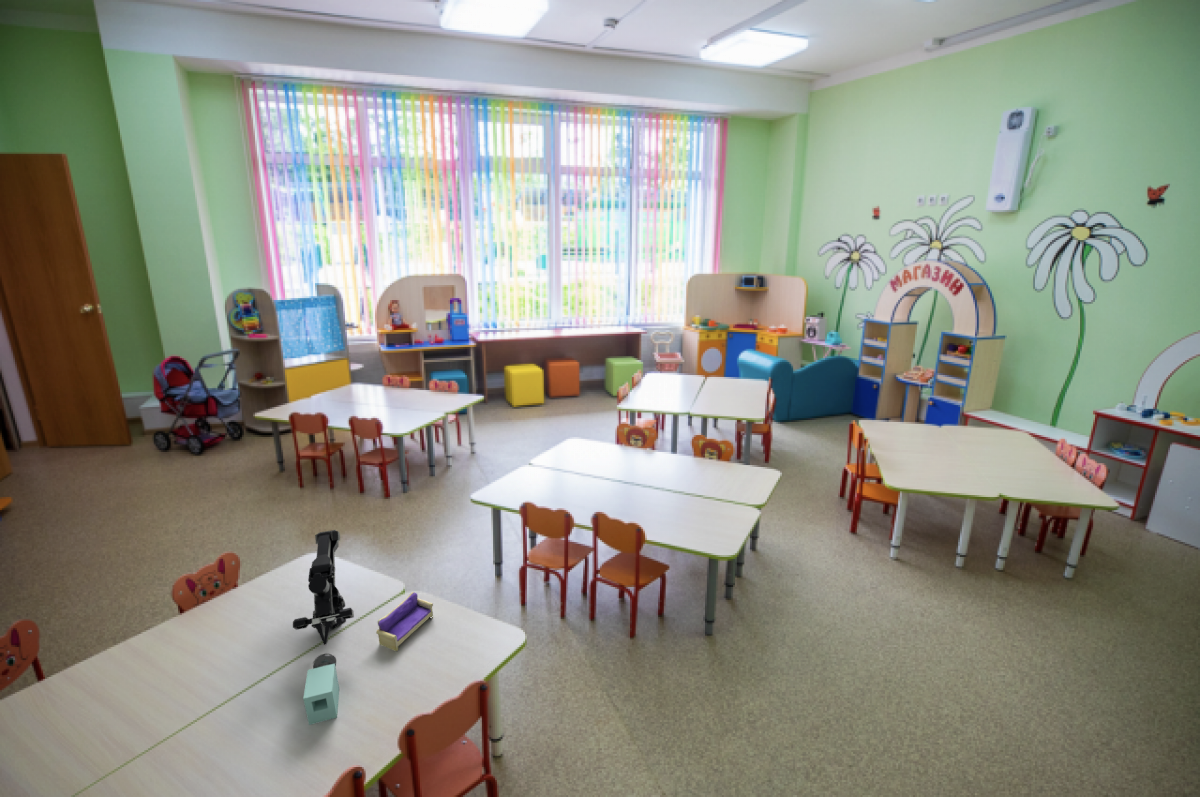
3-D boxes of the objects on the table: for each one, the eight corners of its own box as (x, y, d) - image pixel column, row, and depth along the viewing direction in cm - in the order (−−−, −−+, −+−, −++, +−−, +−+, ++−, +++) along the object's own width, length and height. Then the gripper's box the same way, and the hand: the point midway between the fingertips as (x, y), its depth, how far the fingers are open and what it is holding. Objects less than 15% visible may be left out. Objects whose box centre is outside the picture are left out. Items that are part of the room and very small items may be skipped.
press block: (312, 695, 187) (307, 669, 184) (339, 688, 190) (334, 663, 187) (308, 725, 177) (303, 698, 173) (337, 717, 179) (332, 691, 176)
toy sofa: (395, 653, 205) (392, 630, 202) (377, 645, 209) (374, 622, 205) (435, 617, 223) (432, 595, 220) (417, 611, 227) (415, 589, 223)
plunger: (315, 673, 192) (311, 656, 190) (337, 667, 195) (334, 651, 192) (311, 702, 181) (307, 684, 179) (335, 695, 183) (332, 678, 181)
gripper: (354, 596, 213) (357, 640, 206) (298, 607, 207) (299, 653, 200) (350, 590, 203) (353, 636, 197) (291, 602, 197) (293, 650, 191)
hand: (325, 644), depth 196 cm, fingers closed
